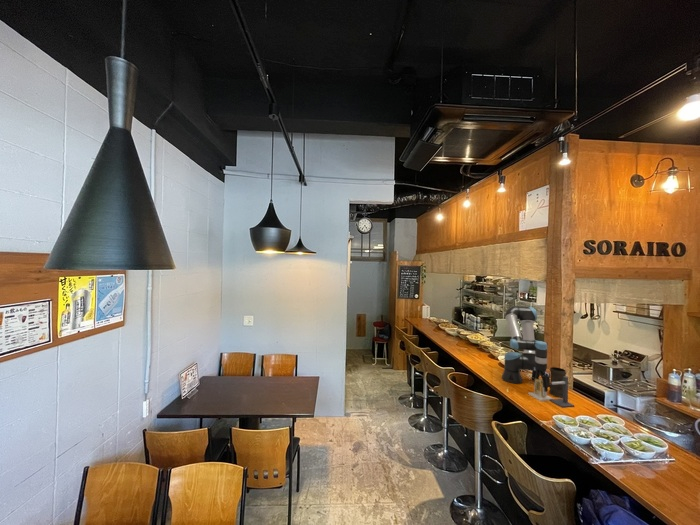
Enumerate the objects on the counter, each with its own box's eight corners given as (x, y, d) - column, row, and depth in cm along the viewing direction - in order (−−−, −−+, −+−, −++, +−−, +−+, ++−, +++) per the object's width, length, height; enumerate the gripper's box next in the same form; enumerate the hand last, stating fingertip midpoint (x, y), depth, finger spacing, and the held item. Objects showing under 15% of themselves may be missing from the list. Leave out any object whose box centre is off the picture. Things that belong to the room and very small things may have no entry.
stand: (546, 401, 207) (546, 375, 207) (561, 399, 209) (561, 374, 209) (558, 408, 197) (558, 380, 197) (574, 406, 199) (574, 379, 199)
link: (534, 392, 216) (535, 378, 216) (538, 392, 216) (538, 377, 216) (542, 396, 209) (542, 381, 209) (546, 396, 210) (546, 381, 210)
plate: (528, 394, 217) (528, 392, 217) (540, 393, 219) (540, 391, 219) (540, 401, 206) (540, 399, 206) (553, 400, 208) (553, 398, 208)
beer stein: (570, 399, 210) (569, 371, 212) (553, 397, 213) (553, 370, 214) (559, 391, 225) (558, 365, 227) (544, 389, 228) (543, 364, 229)
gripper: (526, 358, 222) (525, 387, 222) (548, 367, 202) (547, 399, 202) (534, 357, 223) (533, 387, 223) (557, 367, 204) (556, 399, 204)
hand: (540, 393), depth 213 cm, fingers closed on link, 7 cm apart
